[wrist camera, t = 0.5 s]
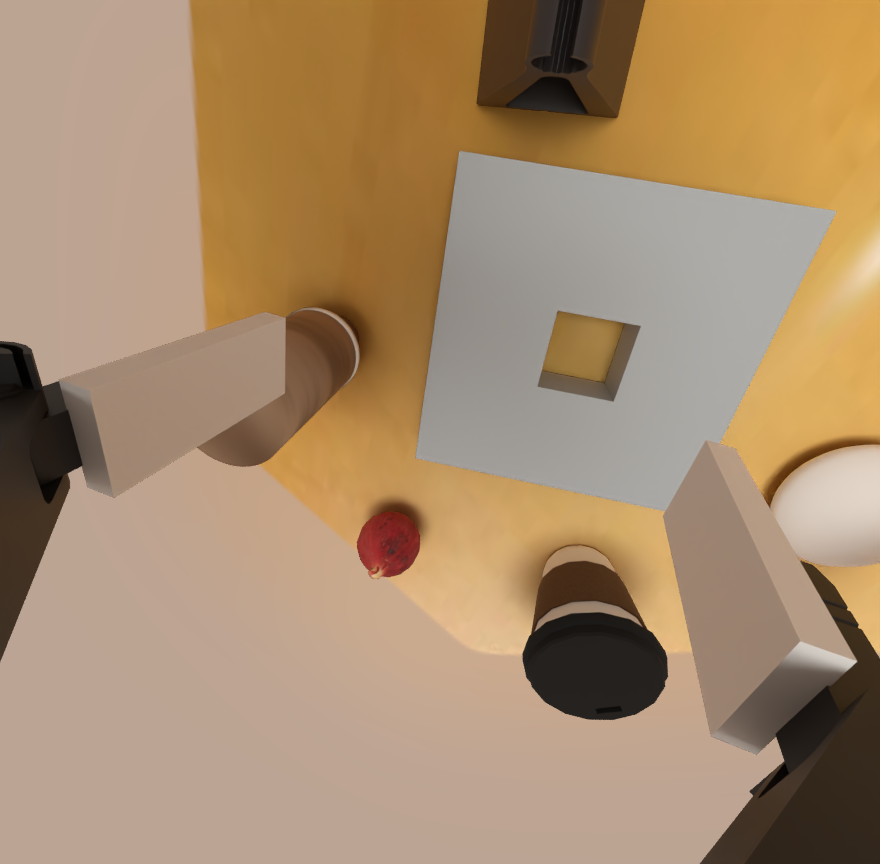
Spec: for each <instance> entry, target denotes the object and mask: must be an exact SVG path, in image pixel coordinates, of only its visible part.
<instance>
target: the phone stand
mask: <svg viewBox="0 0 880 864" xmlns="http://www.w3.org/2000/svg"><path fill="white" fill-rule="evenodd" d="M644 3H645V0H488V9H487V18H486V27H485V36H484V44H483V53H482V62H481V71H480V79H479V88H478V97H477V104H478V105H482V106H492V107H503V108H514V109H524V110H535V111H548V112H556V113H567V114H578V115H588V116H599V117H610V118H616V117H618V114H619V110H620V105H621V101H622V97H623V93H624V88H625V84H626V80H627V76H628V71H629V67H630V63H631V58H632V54H633V50H634V46H635V41H636V37H637V33H638V29H639V24H640V20H641V16H642V12H643V7H644Z"/></svg>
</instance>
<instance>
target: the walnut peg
mask: <svg viewBox="0 0 880 864" xmlns="http://www.w3.org/2000/svg"><path fill="white" fill-rule="evenodd" d="M285 318H286V333H285V394H283V395H282V396H280V397H278V398H277V399H275V400H273V401H272V402H270V403H269V404H267V405H265V406H264V407H262V408H260V409H259V410H257V411H255V412H254V413H252V414H251V415H249V416H247V417H246V418H244V419H242V420H241V421H239V422H238V423H236V424H234V425H233V426H231V427H229V428H228V429H226V430H224V431H223V432H221V433H220V434H218V435H216V436H215V437H213V438H211V439H210V440H208V441H206V442H205V443H203V444H202V445H200V446H198V447H197V448H199V449H200V450H201V451H202V452H204V453H205V454H207V455H208V456H210V457H212V458H213V459H215V460H218V461H220V462H222V463H225V464H229V465H233V466H242V467H243V466H244V467H245V466H254V465H258V464H261V463H263V462H265V461H267V460H269V459H270V458H271V457H272V456H273V455H274V454H275V453H276V452H277V451H278V450H279V449H280V448H281V447H282V446H283V445H284V444H285V443H286V442H287V441H288V440H289V439H290V438H291V437H292V436H293V435H294V434H295V433H296V432H297V431H298V430H299V429H300V428H301V427H302V426H303V425H304V424H305V423H306V422H307V421H308V420H309V419H310V418H311V417H312V416H313V415H314V414H315V413H316V412H317V411H318V410H319V409H320V408H321V407H322V406H323V405H324V404H325V403H326V402H327V401H328V400H329V399H330V398H331V397H332V396H333V395H334V394H335V393H336V392H337V391H338V390H339V389H341V388H342V387H344V386H345V385H346V384H347V383H348V382H349V381H350V380H351V379H352V378H353V376H354V375H355V373H356V371H357V369H358V366H359V361H360V351H359V345H358V344H359V338H358V333H357V331H356V329H355V327H354V326H353V324H352V323H351V322H350V321H349V320H347V319H346V318H344V317H342V316H340V315H336V314H335V313H333V312H331V311H329V310H326V309H323V308H318V307H306V308H302V309H299V310H297V311H295V312H292V313H291V314H289V315H288V316H286V317H285Z"/></svg>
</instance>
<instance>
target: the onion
mask: <svg viewBox="0 0 880 864" xmlns="http://www.w3.org/2000/svg"><path fill="white" fill-rule="evenodd" d="M357 549H358V553H359V557H360V560H361V561H362V563H363V564H364V566H365V567H366V568H367V569H368V570H369V575H370V577H371V578H372V579H379V578H380V577H382V576H383V577H391V576H396V575H399V574H401V573H402V572H404V571H405V570H407V569H408V568H409V567H410V566H411V565H412V564H413V562H414V560H415V559H416V557H417V555H418V553H419V549H420V534H419V532H418V530H417V528H416V526H415V523H414V522H413V521H412V520H411V519H410V518H409V517H408V516H406V515H404V514H401V513H398V512H384V513H381V514H378V515H376V516H373V517H372V518H371V519H370V520H369V521H368V522H366V524H365V525H364V526H363V527H362V530H361V532H360V535H359V538H358V541H357Z"/></svg>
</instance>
